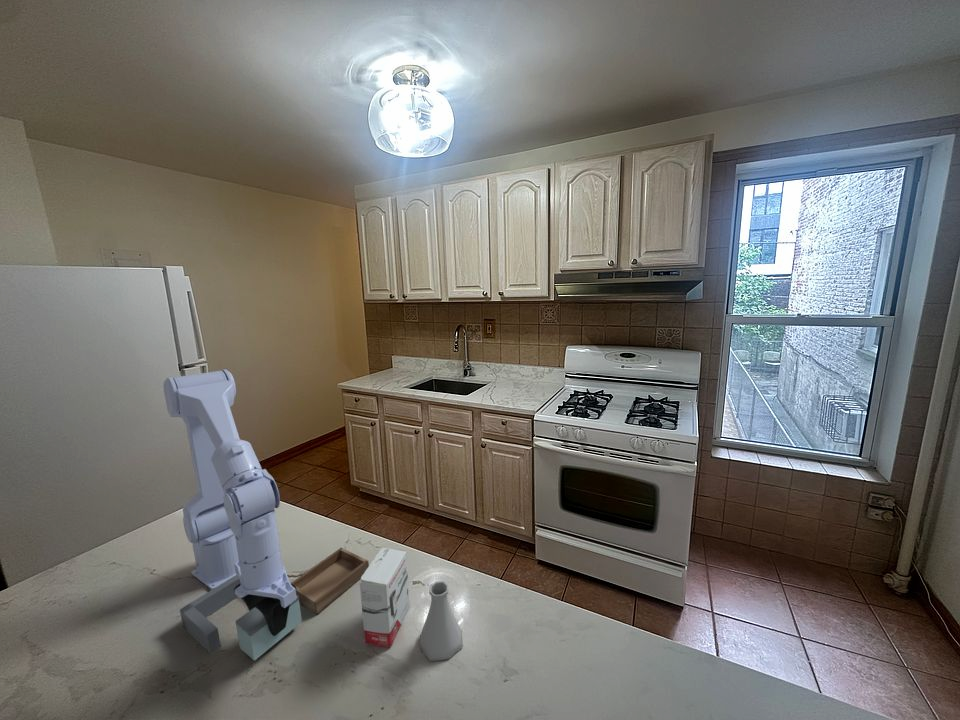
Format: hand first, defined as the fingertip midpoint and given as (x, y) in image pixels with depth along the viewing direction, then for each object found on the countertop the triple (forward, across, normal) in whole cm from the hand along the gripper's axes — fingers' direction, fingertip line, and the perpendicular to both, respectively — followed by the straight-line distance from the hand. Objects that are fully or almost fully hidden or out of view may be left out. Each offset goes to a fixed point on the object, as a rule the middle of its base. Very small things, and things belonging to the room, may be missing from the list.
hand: (270, 624), depth 61 cm
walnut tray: (+3, -2, +13) cm, 14 cm away
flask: (+3, +25, +14) cm, 29 cm away
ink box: (+3, +15, +12) cm, 19 cm away
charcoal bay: (+3, -12, 0) cm, 12 cm away
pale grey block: (+2, 0, 0) cm, 2 cm away
